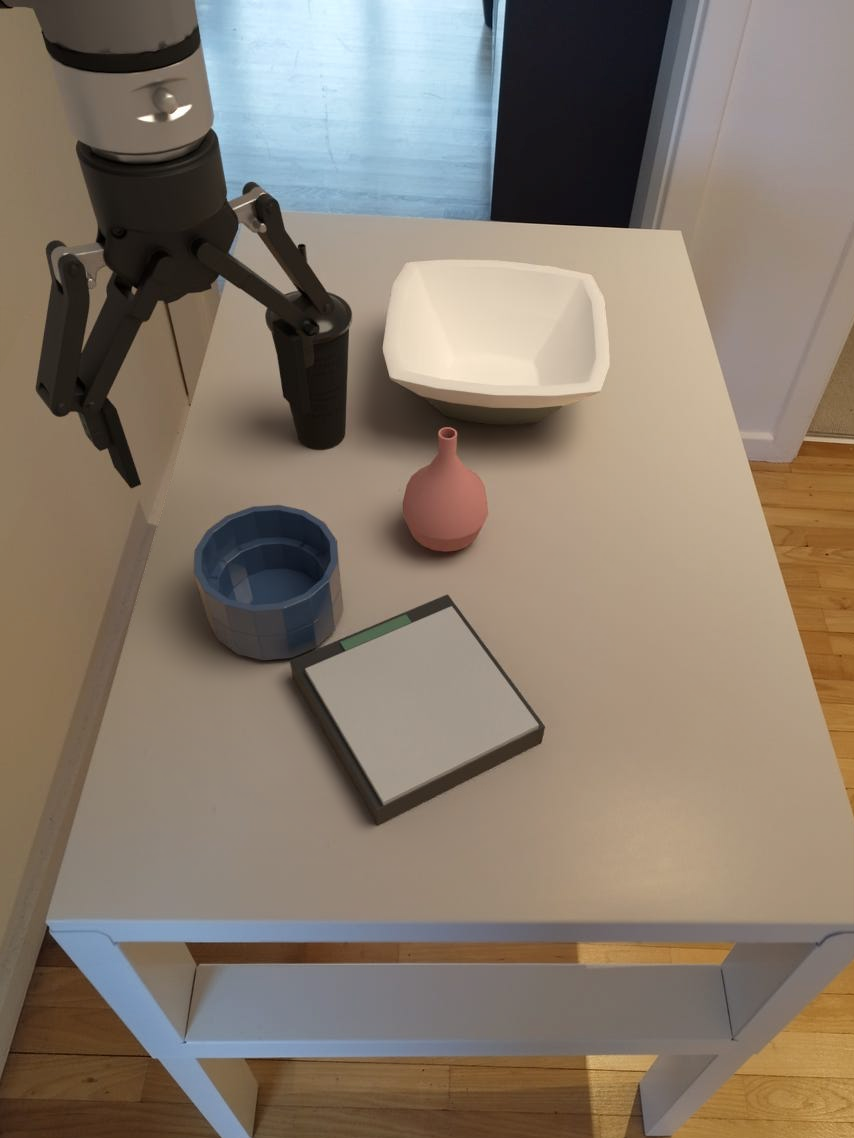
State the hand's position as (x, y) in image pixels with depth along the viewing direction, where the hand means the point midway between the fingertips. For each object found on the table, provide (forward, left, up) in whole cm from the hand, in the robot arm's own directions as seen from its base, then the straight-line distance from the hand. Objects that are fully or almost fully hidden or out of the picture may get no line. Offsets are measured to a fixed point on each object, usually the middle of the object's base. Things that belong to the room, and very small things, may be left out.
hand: (215, 439), depth 66 cm
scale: (+18, +6, -16) cm, 25 cm away
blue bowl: (+4, +1, -16) cm, 17 cm away
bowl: (-13, +33, -17) cm, 39 cm away
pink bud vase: (+3, +18, -17) cm, 25 cm away
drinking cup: (-15, +14, -17) cm, 27 cm away
